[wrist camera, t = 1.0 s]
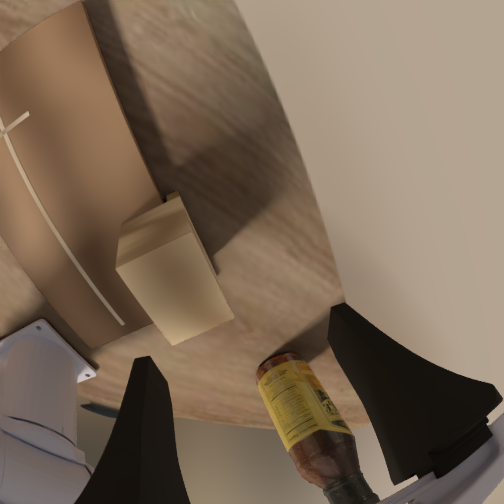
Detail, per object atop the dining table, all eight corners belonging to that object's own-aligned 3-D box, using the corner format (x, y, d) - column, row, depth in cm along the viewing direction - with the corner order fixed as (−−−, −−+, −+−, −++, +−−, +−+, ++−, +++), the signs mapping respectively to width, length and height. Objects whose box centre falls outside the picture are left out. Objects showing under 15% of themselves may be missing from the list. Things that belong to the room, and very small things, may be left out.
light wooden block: (162, 284, 21) (172, 345, 16) (122, 217, 17) (115, 268, 12) (210, 261, 21) (234, 317, 16) (177, 190, 18) (191, 231, 13)
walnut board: (92, 336, 21) (91, 349, 20) (-46, 104, 9) (-58, 106, 7) (206, 285, 23) (210, 296, 21) (85, 6, 10) (80, -1, 9)
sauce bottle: (304, 369, 34) (386, 500, 18) (258, 390, 33) (329, 530, 17) (299, 339, 30) (401, 494, 14) (245, 362, 29) (330, 533, 13)
